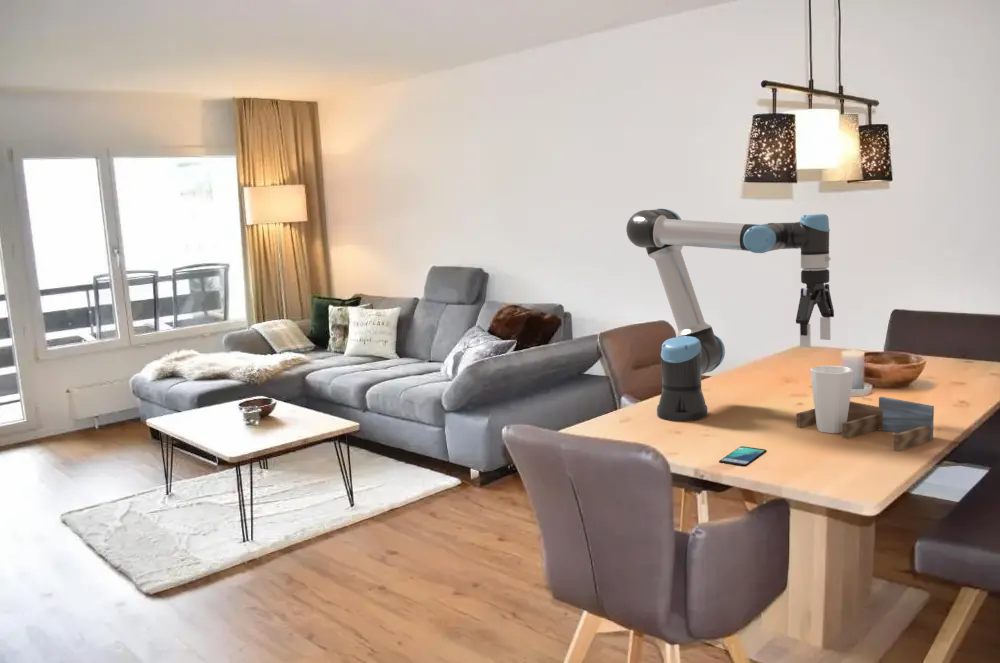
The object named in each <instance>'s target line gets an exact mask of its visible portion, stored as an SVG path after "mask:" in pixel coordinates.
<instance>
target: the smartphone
mask: <svg viewBox="0 0 1000 663" xmlns="http://www.w3.org/2000/svg"><path fill="white" fill-rule="evenodd" d="M765 453H767V450H766V449H763V448H759V447H758V448H757V447H751V446H742V445H741V446H739V447H738V448H736V449H735V450H733V451H732V452H730V453H728V454H727V455H726V456H724V457H723V458H721V459H719V461H718V463H719V464H723V463H724V464H725V465H730V466H736V467H737V466H738V467H742V468H743V467H747V466H748V465H749V466H750V464H751V463H753V462H754V461H755V460H757V459H758V458H759V459H760V457H761V456H763V455H764V454H765Z"/></svg>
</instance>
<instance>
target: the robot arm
mask: <svg viewBox="0 0 1000 663" xmlns="http://www.w3.org/2000/svg"><path fill="white" fill-rule="evenodd" d="M829 222H830V220H829V216H828V215H827V214H825V213H819V214H818V213H817V214H816V213H815V214H803V215H801V216H800V220H799V221H797V222H768V223H762V224H757V223H756V224H755V223H734V222H720V221H718V222H717V221H705V220H690V219H689V220H688V219H687V220H685V219H682V218H681V217H680V215H679V214H678V213H677V212H675V211H674V210H671V209H667V208H655V209H644V210H643V209H642V210H639V211H637V212H635V213H633V214H632V215H631V217H629V220H627V223H626V229H625V230H626V236H627V238H628V240H629V241H630V242H631V243H632V244H633V245H634V246H636V247H639V248H643V249H644V248H645V251H646V253H647V255H648V257H649V258H651V259H653V260H654V261H655V265H656V267H657V271H658V273H659V274H658V275H659V276H660V280H661V284H662V285H663V288H664V292H665V295H666V298H667V300H668V304H669V306H670V309H671V312H672V316H673V318H674V322H675V323H676V327H677V334H676V336H675V337H671V338H668V339H666V340H664V342H663V343H662V344H661V351H660V357H661V379H662V380H661V383H662V385H661V387H662V388H661V394H660V397H659V403H658V405H657V407H656V415H657V417H659V418H660V419H664V420H667V421H668V420H669V421H677V422H678V421H679V422H690V421H699V420H703V419H704V418H707V417H708V415H709V414H708V413H709V410H708V406H707V404H706V401H705V397H704V394H703V392H702V391H703V390H702V375H704V374H707V373H710V372H712V371H714V370H716V368H718V367H719V366H721V364H722V363H723V361H724V359H725V355H726V349H725V344H724V343H723V341H722V339H721V338H720V337H719V336H717V335H716V334H715V333H714V331H713V327H712V325H710V324H708V323H707V322H706V321H705V319H704V316H703V312H702V310H701V307H700V304H699V301H698V298H697V295H696V292H695V289H694V286H693V283H692V280H691V278H690V274H689V272H688V268H687V265H686V263H685V260H684V256H683V253H682V249H683V247H696V248H706V249H707V248H708V249H718V250H719V249H721V250H734V251H746V252H751V253H754V254H765V253H768V252H771V251H772V252H773V251H777V250H788V249H789V250H790V249H793V250H794V249H797V250H798V249H800V268H801V269H802V270H801V272H800V282H801V284H804V285H806V287H805V288H804V287H803V288H800V297H799V302H798V307H797V313H796V319H795V324H798V325H799V347H800V348H801V347H802V348H811V346H812V344H811V343H812V342H811V339H812V338H811V337H812V336H811V323H810V321H811V318H812V313H813V312H814V307H815V305H817V307H818V310H819V312H820V315H821V317H819V325H820V326H819V334H820V335H819V340H823V341H824V340H827V341H830V340H831V318H834V317H835V310H834V306H833V301H832V297H831V293H830V284H829V282H830V270H829V269H828V268H829V267H830V261H831V260H832V259H831V257H830V231H831V230H830V223H829Z"/></svg>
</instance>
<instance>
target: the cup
mask: <svg viewBox="0 0 1000 663" xmlns="http://www.w3.org/2000/svg"><path fill="white" fill-rule="evenodd" d="M809 370H810V379H811V380H810V381H811V387H812V395H813V397H812V398H813V404H814V405H813V407H814V409H815V415H816V429H817V430H818V431H819V432H821V433H829V434H840V433H842V423H846V422H847V417H848V410H849V403H850V401H851V396H852V387H853V380H854V373H855V370H853V369H852V368H850V367H848V366H841V365H840V366H839V365H820V366H815V367H810V369H809Z"/></svg>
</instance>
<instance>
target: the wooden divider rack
mask: <svg viewBox="0 0 1000 663" xmlns="http://www.w3.org/2000/svg"><path fill="white" fill-rule="evenodd" d="M934 410H935V406H934V405H929V404H924V403H920V402H914V401H908V400H901V399H896V398H892V397H885V396H879V397H878V406H876V405H871V404H866V403H861V402H855V401H851V400H850V403H849V410H848V417H847V422H846V423H842V432H841V434H842V436H841V437H842V439H845V440H846V439H847V440H848V439H850V438H854V437H858V436H860V435H865V434H868V433H870V432H875V431H877V430H879V429H880V430H879V431H884V430H885V431H886V432H888V431H889V433H893V432H894V433H893V451H895V452H899V451H902V450H906V449H909V448H913V447H915V446H918V445H921V444H924V443H927V442H931V441H933V440H934V416H935V414H934V412H935V411H934ZM795 419H796V420H795V422H796V428H798V429H801V428H805V427H809V426H813V425H815V424H816V415H815V408H811V409H808V410H805V411H801V412H797V413H796V418H795ZM816 425H817V424H816ZM874 430H875V431H874ZM885 431H884V432H885ZM867 432H868V433H867Z"/></svg>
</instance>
